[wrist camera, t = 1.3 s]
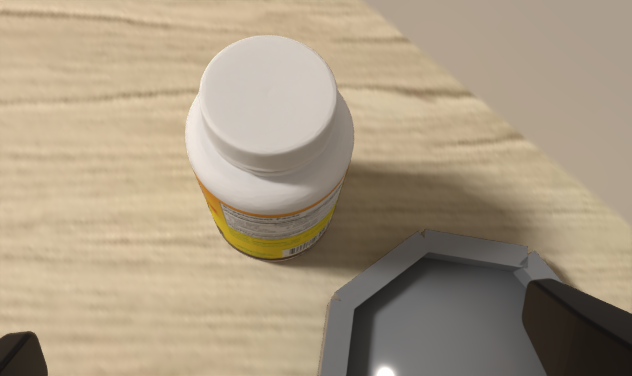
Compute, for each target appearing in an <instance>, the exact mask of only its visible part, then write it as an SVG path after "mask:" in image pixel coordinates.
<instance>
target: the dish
mask: <svg viewBox="0 0 632 376" xmlns="http://www.w3.org/2000/svg"><path fill="white" fill-rule="evenodd" d="M544 278H552V279H555V280H557V281H559V282H561V283H563V282H562V281H561V280H560V279H559V278H558V276H557V275H556V274H555V273H554V272H553V271H552V270H551V268H550V267H549V266H548V265H547V264H546V263H545V262H544V260H543V259H542V258H541V257H540V256H539V255H538V254H537V252H536V251H533V252H531V253H529V254H528V246H522V245H516V244H510V243H504V242H499V241H493V240H487V239H481V238H475V237H469V236H463V235H457V234H451V233H445V232H439V231H433V230H427V229H425V230H424V231H423V232H422V233H421V234H420V233H419V231H417V232H416V233H414V234H413V235H412V236H410V237H409V238H408V239H406V240H405V241H404V242H402V243H401V244H400V245H398V246H397V247H396V248H394V249H393V250H392V251H390V252H389V253H387V254H386V255H385V256H383V257H382V258H381V259H379V260H378V261H377V262H375V263H374V264H373V265H371V266H370V267H369V268H367V269H366V270H365V271H363V272H362V273H360V274H359V275H358V276H356V277H355V278H354V279H352V280H351V281H350V282H348V283H347V284H346V285H344V286H343V287H342V288H340V289H339V290H338V291H336V292H335V293H334V295H333V296H332V298H331V300H330V302H329V303H328V305H327V311H326V318H325V325H324V332H323V339H322V346H321V353H320V360H319V367H318V374H317V376H547V375H546V373H545V371H544V369H543V366H542V364H541V362H540V360H539V358H538V356H537V354H536V352H535V350H534V348H533V346H532V344H531V341H530V339H529V337H528V335H527V333H526V331H525V329H524V326H523V323H522V309H523V304H524V298H525V292H526V287H527V284H528V283H529V282H530V281H531V280H534V279H544Z"/></svg>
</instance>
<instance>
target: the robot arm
mask: <svg viewBox="0 0 632 376" xmlns="http://www.w3.org/2000/svg"><path fill="white" fill-rule="evenodd" d="M522 323H523V326H524V329H525V331H526V333H527V335H528V337H529V339H530V341H531V344H532V346H533V348H534V350H535V352H536V354H537V356H538V358H539V360H540V362H541V364H542V366H543V369H544V371H545V373H546V375H547V376H632V314H631V313H629V312H627V311H624V310H622V309H620V308H618V307H615V306H613V305H611V304H609V303H606V302H604V301H602V300H600V299H597V298H595V297H593V296H591V295H588V294H586V293H584V292H582V291H579V290H577V289H575V288H573V287H570V286H568V285H566V284H564V283H561V282H559V281H557V280H555V279H552V278H544V279H534V280H531V281H530V282H529V283H528V284H527V287H526V292H525V298H524V304H523V309H522ZM0 376H48V370H47V365H46V362H45V359H44V356H43V353H42V350H41V346H40V343H39V340H38V338H37V336H36V334H35V333H33V332H31V331H27V332H17V333H9V334H6V335H5V336H3V337H2V338H0Z"/></svg>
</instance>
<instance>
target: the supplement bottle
mask: <svg viewBox="0 0 632 376" xmlns="http://www.w3.org/2000/svg"><path fill="white" fill-rule="evenodd" d="M185 142H186V149H187V153H188V157H189V160H190V163H191V166H192V168H193V171H194V173H195V175H196V178H197V180H198V183H199V185H200V187H201V190H202V192H203V194H204V196H205V199H206V202H207V204H208V207H209V208H210V211H211V214H212V216H213V218H214V221H215V223H216V225H217V227H218V229H219V231H220V233H221V235H222V236H223V237H224V239H225V240H226V241H227V242H228V243H229V244H230V245H231V246H232V247H233V248H234V249H236V250H237V251H239V252H240V253H242V254H244V255H246V256H248V257H250V258H253V259H257V260H261V261H283V260H288V259H291V258H294V257H297V256H299V255H301V254H303V253H305V252H306V251H308V250H309V249H310V248H312V247H313V246H314V245H315V244H316V243H317V242H318V241H319V240H320V238H321V237H322V236H323V234H324V233H325V231H326V229H327V227H328V225H329V223H330V220H331V217H332V215H333V212H334V209H335V206H336V203H337V200H338V197H339V194H340V191H341V188H342V185H343V182H344V179H345V176H346V173H347V170H348V167H349V164H350V161H351V156H352V151H353V146H354V127H353V121H352V117H351V114H350V111H349V108H348V106H347V104H346V102H345V100H344V99H343V97H342V96H341V94H340V93H339V91H338V90H337V85H336V81H335V78H334V75H333V73H332V71H331V69H330V68H329V66H328V65H327V63H326V62H325V61H324V60H323V58H322V57H321V56H320V55H318V54H317V53H316V52H315V51H314V50H313V49H311V48H310V47H308V46H306V45H305V44H303V43H301V42H299V41H296V40H293V39H291V38H286V37H281V36H274V35H261V36H253V37H249V38H245V39H242V40H239V41H237V42H235V43H233V44H231V45H229V46H227V47H226V48H224V49H223V50H222V51H220V52H219V53H218V54H217V55H216V56H215V57H214V58H213V59H212V60H211V62H210V63H209V65H208V66H207V68H206V70H205V71H204V74H203V76H202V79H201V83H200V89H199V93H198V95H197V96H196V98H195V100H194V102H193V104H192V106H191V108H190V111H189V114H188V117H187V121H186V129H185Z"/></svg>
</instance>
